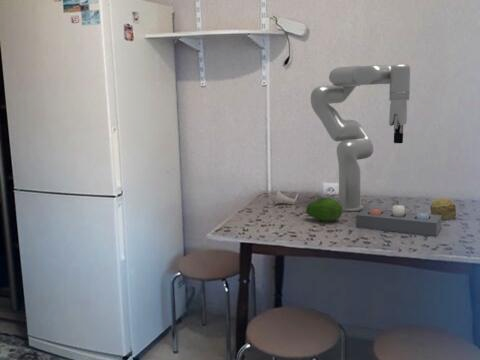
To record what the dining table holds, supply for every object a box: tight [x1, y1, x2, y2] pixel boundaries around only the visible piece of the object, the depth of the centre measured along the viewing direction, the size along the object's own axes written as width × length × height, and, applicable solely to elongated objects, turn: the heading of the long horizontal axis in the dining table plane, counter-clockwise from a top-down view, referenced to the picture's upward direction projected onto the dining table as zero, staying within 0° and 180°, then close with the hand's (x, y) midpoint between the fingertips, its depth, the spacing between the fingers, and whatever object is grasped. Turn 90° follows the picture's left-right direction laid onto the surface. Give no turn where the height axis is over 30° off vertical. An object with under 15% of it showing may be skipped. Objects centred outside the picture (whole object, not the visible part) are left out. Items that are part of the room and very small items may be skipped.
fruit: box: [305, 197, 344, 222], centre depth 205 cm, size 15×10×10 cm, turn 65°
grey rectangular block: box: [355, 207, 443, 237], centre depth 192 cm, size 30×12×5 cm, turn 59°
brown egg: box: [369, 207, 382, 215], centre depth 196 cm, size 4×4×5 cm
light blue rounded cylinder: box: [416, 212, 430, 220], centre depth 187 cm, size 4×4×5 cm
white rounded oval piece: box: [392, 204, 406, 217], centre depth 191 cm, size 4×4×5 cm
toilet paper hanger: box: [274, 189, 300, 206], centre depth 245 cm, size 23×10×8 cm, turn 169°
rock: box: [429, 197, 457, 221], centre depth 204 cm, size 10×11×10 cm
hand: (398, 142), depth 196 cm, fingers closed
